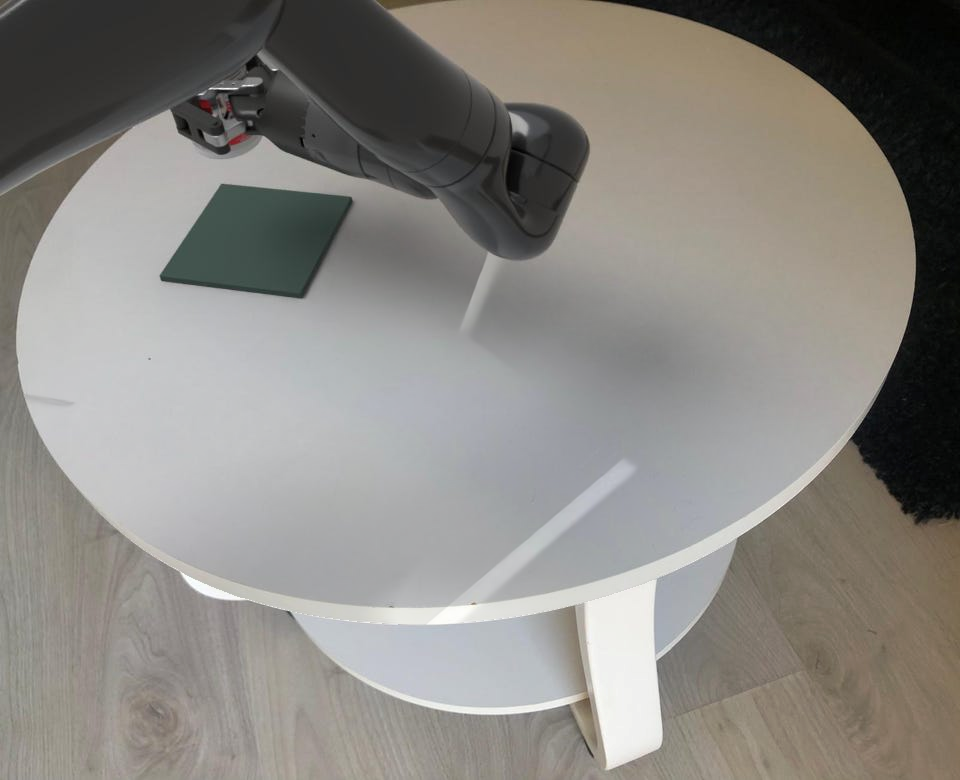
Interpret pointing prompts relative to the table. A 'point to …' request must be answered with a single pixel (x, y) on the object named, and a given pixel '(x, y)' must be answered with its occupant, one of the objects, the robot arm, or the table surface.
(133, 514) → the table surface
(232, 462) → the table surface
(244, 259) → the mat
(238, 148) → the pill bottle
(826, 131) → the table surface
